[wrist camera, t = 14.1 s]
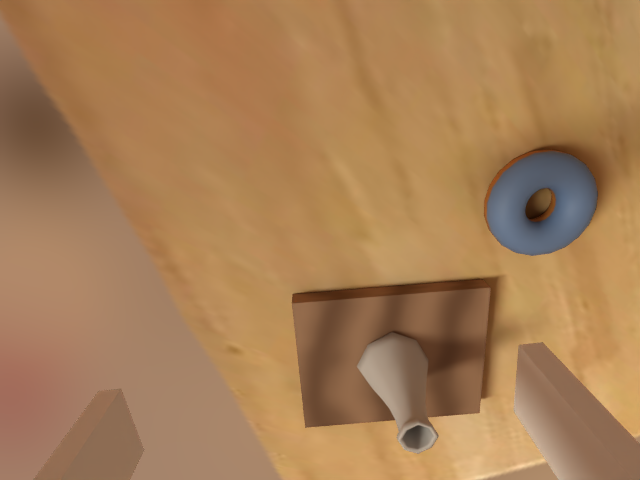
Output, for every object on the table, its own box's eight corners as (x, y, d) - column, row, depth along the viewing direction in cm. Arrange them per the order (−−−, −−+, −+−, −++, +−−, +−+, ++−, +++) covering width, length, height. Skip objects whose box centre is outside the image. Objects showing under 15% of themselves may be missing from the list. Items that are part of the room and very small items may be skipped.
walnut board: (481, 279, 40) (490, 287, 38) (472, 400, 45) (479, 413, 43) (292, 294, 40) (292, 303, 38) (305, 414, 45) (305, 427, 43)
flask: (439, 357, 41) (480, 432, 31) (392, 399, 42) (418, 483, 33) (391, 319, 39) (418, 388, 29) (344, 365, 40) (356, 444, 31)
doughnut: (467, 245, 38) (493, 260, 34) (488, 143, 36) (519, 146, 31) (554, 249, 40) (589, 264, 36) (580, 152, 37) (622, 155, 33)
